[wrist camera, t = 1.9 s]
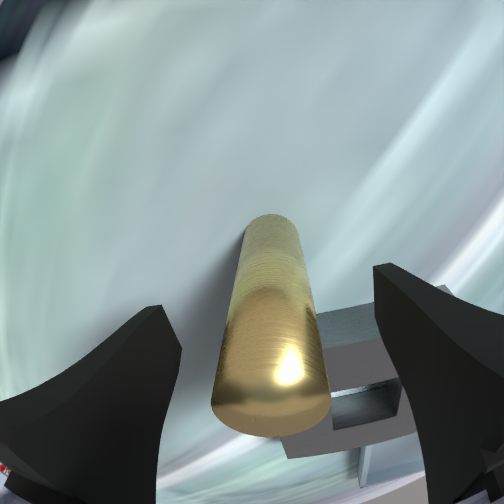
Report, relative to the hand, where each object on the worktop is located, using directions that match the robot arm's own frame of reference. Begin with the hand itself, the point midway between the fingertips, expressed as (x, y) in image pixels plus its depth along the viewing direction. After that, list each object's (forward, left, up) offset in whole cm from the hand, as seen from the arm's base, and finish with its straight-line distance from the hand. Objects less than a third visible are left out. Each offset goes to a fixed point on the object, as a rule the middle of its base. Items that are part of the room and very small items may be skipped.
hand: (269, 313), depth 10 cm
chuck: (-4, +11, -6) cm, 13 cm away
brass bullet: (0, 0, -6) cm, 6 cm away
